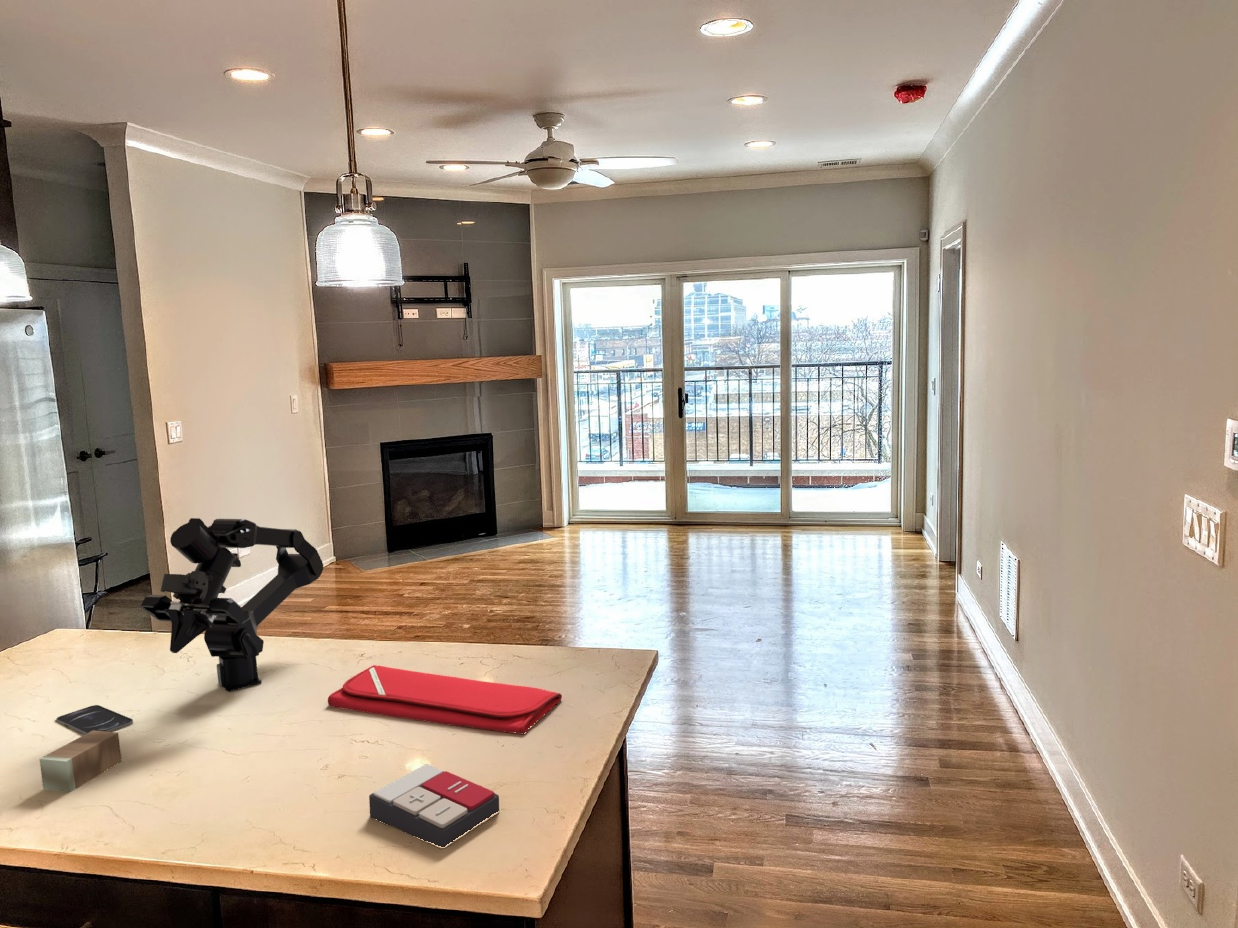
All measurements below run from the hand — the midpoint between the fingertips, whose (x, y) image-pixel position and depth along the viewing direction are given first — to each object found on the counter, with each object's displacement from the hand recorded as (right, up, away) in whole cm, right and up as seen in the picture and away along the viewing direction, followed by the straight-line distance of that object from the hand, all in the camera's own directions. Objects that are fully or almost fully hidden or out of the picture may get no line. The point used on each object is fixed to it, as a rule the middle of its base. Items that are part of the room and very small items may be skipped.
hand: (173, 652), depth 156 cm
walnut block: (-4, -12, -14) cm, 19 cm away
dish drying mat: (+48, -11, +5) cm, 49 cm away
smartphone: (-15, -14, +2) cm, 20 cm away
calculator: (+54, -16, -34) cm, 66 cm away
